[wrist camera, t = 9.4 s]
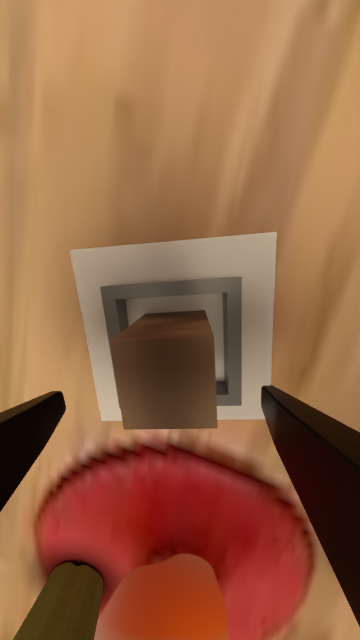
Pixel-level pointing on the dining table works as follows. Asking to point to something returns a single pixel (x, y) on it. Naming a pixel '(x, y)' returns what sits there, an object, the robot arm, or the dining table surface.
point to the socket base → (185, 308)
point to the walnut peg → (166, 372)
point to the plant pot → (65, 606)
